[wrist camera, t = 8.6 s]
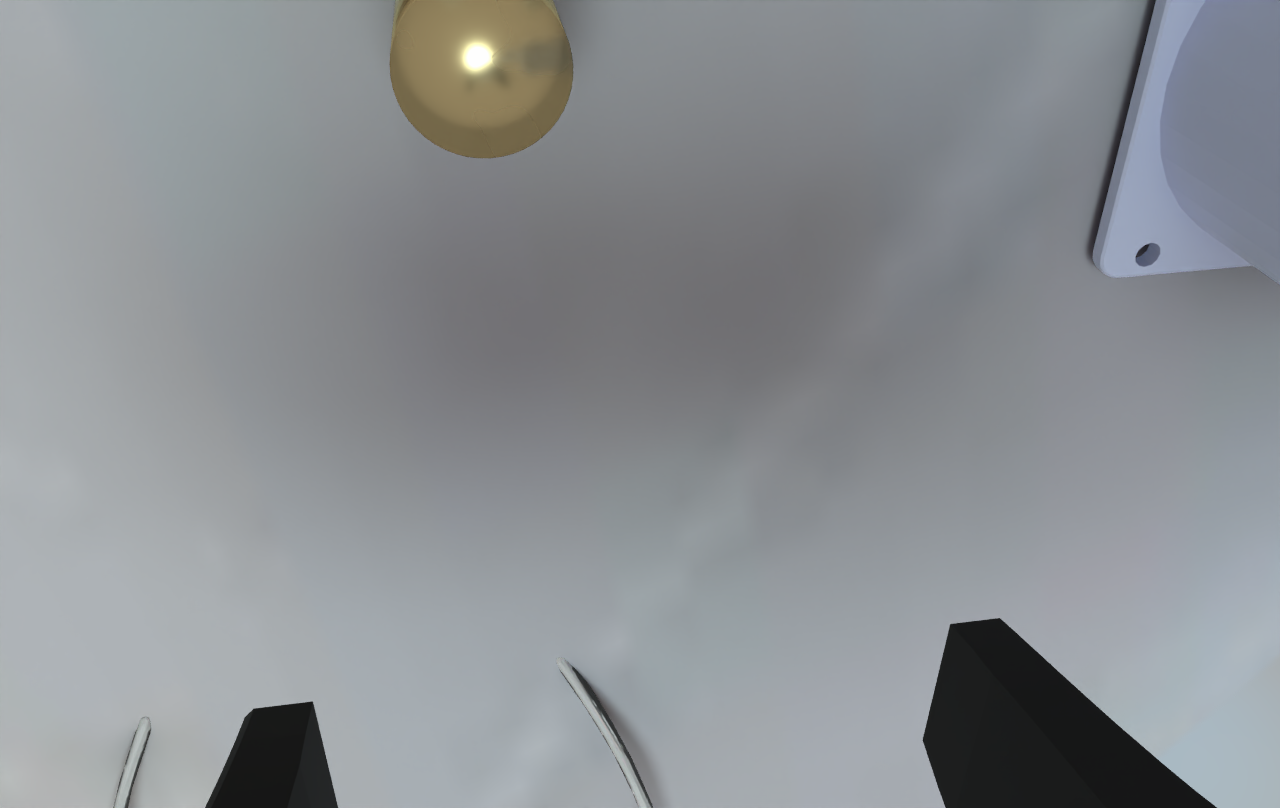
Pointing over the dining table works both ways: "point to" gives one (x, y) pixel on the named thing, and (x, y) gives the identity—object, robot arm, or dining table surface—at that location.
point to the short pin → (480, 72)
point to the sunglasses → (566, 669)
